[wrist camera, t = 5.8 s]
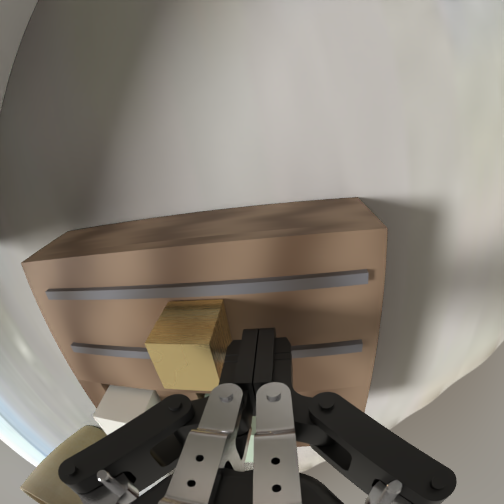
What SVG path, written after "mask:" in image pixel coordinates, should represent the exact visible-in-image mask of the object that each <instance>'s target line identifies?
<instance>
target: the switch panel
mask: <svg viewBox="0 0 504 504" xmlns="http://www.w3.org/2000/svg"><path fill="white" fill-rule="evenodd" d="M387 229H388V228H387V227H386V226H385V225H384V224H383V223H382V222H381V221H380V220H379V219H378V218H377V217H376V215H375V214H374V213H373V212H372V211H371V210H370V209H369V208H368V207H367V206H366V205H365V204H364V203H363V202H362V201H361V200H360V199H359V198H358V197H355V198H340V199H326V200H313V201H301V202H289V203H278V204H268V205H257V206H248V207H238V208H229V209H220V210H212V211H203V212H195V213H187V214H179V215H171V216H164V217H157V218H150V219H143V220H136V221H129V222H122V223H116V224H109V225H103V226H97V227H91V228H85V229H79V230H73V231H68V232H66V233H65V234H63V235H61V236H60V237H58V238H57V239H55V240H54V241H52V242H51V243H49V244H48V245H46V246H45V247H43V248H42V249H40V250H39V251H37V252H36V253H34V254H33V255H32V256H30V257H29V258H27V259H26V260H24V261H23V262H22V263H21V264H22V267H23V270H24V272H25V275H26V278H27V280H28V283H29V285H30V288H31V290H32V292H33V295H34V297H35V299H36V302H37V304H38V306H39V308H40V310H41V313H42V315H43V317H44V319H45V321H46V323H47V325H48V327H49V329H50V331H51V333H52V335H53V337H54V339H55V341H56V343H57V345H58V347H59V348H60V350H61V352H62V354H63V356H64V357H65V359H66V361H67V363H68V364H69V366H70V368H71V369H72V371H73V373H74V374H75V376H76V378H77V379H78V381H79V383H80V384H81V386H82V387H83V389H84V390H85V392H86V393H87V395H88V396H89V398H90V399H91V401H92V402H93V404H94V405H95V407H96V408H97V407H98V405H99V403H100V402H101V400H102V398H103V396H104V394H105V393H106V391H107V389H108V387H109V385H115V386H123V387H131V388H139V389H149V390H156V392H157V393H158V395H159V397H160V399H161V401H162V400H163V399H165V398H166V397H168V396H170V395H173V394H183V395H185V396H187V397H188V398H189V399H190V400H191V401H192V400H196V399H201V398H204V397H205V394H206V393H208V394H210V393H211V391H197V390H179V389H165V388H164V387H163V384H162V382H161V380H160V378H159V376H158V374H157V371H156V369H155V367H154V365H153V362H152V360H151V358H150V355H149V353H148V351H147V348H146V346H145V344H144V343H145V342H146V340H147V338H148V336H149V334H150V333H151V331H152V329H153V327H154V326H155V324H156V322H157V320H158V319H159V317H160V315H161V313H162V312H163V310H164V308H165V306H166V305H167V303H168V302H169V301H196V300H217V299H223V301H224V306H225V311H226V316H227V320H228V325H229V330H230V334H231V339H232V341H233V340H241V339H242V333H243V329H255V328H259V329H260V328H271V327H275V330H276V338H279V337H286V338H287V339H288V340H289V342H290V343H291V353H292V366H293V389H294V390H295V391H296V392H297V393H299V394H300V395H303V396H307V397H314V396H315V395H317V394H319V393H322V392H333V393H336V394H338V395H340V396H341V397H343V398H344V399H345V400H347V401H348V402H350V403H351V404H352V405H354V406H355V407H357V408H358V409H359V410H361V411H362V412H365V407H366V403H367V398H368V393H369V388H370V383H371V378H372V373H373V367H374V361H375V355H376V349H377V343H378V336H379V328H380V321H381V312H382V303H383V293H384V282H385V269H386V253H387ZM296 446H297V447H301V446H310V444H307V443H303V442H298V441H296Z"/></svg>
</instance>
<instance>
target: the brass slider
mask: <svg viewBox="0 0 504 504" xmlns="http://www.w3.org/2000/svg"><path fill="white" fill-rule="evenodd" d="M231 342H232V339H231V334H230V330H229V325H228V320H227V316H226V311H225V306H224V301H223V299H217V300H196V301H169V302H168V303H167V305H166V306H165V308H164V310H163V312H162V313H161V315H160V317H159V319H158V320H157V322H156V324H155V326H154V327H153V329H152V331H151V333H150V334H149V336H148V338H147V340H146V342H145V343H144V344H145V346H146V348H147V351H148V353H149V355H150V358H151V360H152V362H153V365H154V367H155V369H156V371H157V374H158V376H159V378H160V380H161V382H162V384H163V387H164V388H165V389H179V390H197V391H212V390H213V389H214V388H215V387H216V386H218V385H219V381H220V376H221V372H222V368H223V363H224V359H225V356H226V351H227V347H228V346H229V344H230V343H231Z"/></svg>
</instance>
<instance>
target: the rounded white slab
mask: <svg viewBox="0 0 504 504" xmlns="http://www.w3.org/2000/svg"><path fill="white" fill-rule="evenodd" d="M37 2H38V0H0V113H1V108H2V104H3V99H4V95H5V91H6V87H7V83H8V80H9V76H10V73H11V70H12V66H13V63H14V60H15V57H16V54H17V51H18V48H19V45H20V43H21V40H22V37H23V35H24V32H25V30H26V27H27V25H28V22H29V20H30V18H31V15H32V13H33V11H34V9H35V6H36V4H37Z"/></svg>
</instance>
